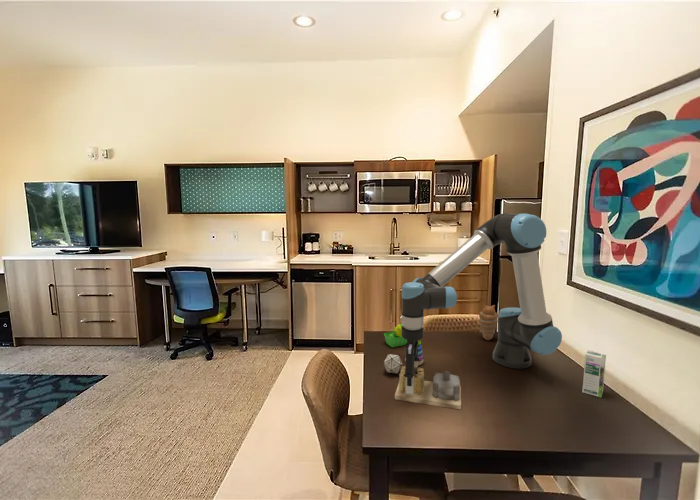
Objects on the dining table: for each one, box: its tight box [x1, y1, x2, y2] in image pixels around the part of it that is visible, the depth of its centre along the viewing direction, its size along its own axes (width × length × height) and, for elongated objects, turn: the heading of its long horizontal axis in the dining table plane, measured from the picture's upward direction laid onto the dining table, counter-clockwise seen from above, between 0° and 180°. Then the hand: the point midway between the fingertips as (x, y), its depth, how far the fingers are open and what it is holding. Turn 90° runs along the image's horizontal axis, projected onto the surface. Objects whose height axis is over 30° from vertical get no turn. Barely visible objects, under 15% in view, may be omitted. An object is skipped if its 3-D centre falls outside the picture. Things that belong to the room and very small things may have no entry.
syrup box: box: [581, 349, 607, 398], centre depth 122 cm, size 6×6×14 cm
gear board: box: [394, 367, 462, 410], centre depth 122 cm, size 22×13×9 cm, turn 72°
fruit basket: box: [383, 323, 407, 348], centre depth 166 cm, size 11×9×11 cm
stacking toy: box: [404, 339, 425, 366], centre depth 146 cm, size 8×8×19 cm
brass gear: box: [398, 365, 425, 395], centre depth 124 cm, size 8×8×6 cm
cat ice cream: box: [478, 303, 499, 341], centre depth 170 cm, size 9×8×18 cm
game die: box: [381, 351, 405, 377], centre depth 138 cm, size 9×8×10 cm
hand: (411, 385), depth 124 cm, fingers open, 10 cm apart
